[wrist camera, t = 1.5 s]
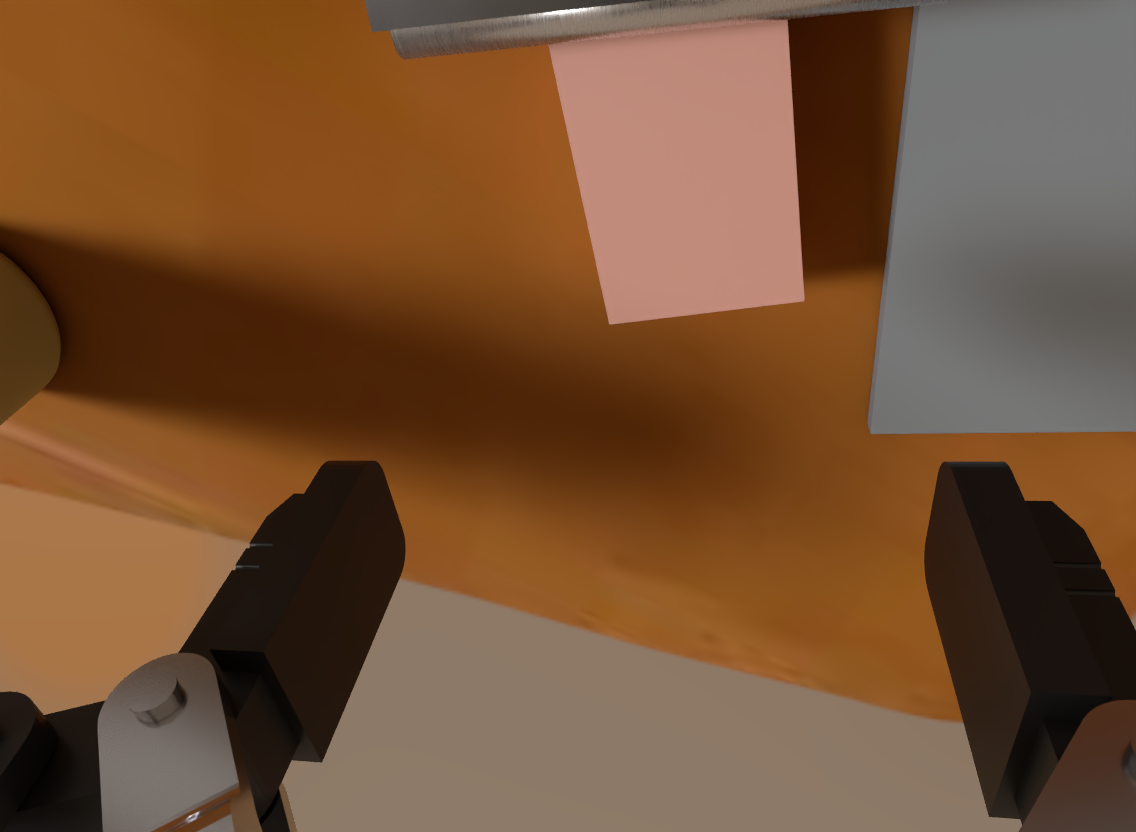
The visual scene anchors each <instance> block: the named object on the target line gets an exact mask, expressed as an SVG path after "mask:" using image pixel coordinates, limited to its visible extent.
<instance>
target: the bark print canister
mask: <svg viewBox="0 0 1136 832" xmlns="http://www.w3.org/2000/svg"><path fill="white" fill-rule="evenodd" d="M60 352H61V339H60V333H59V328H58V325H57V322H56V319H55V317H54V314H53V312H52V310H51V308H50V306H49V304H48V303H47V301H46V299H45V298H44V296H43V295H42V293H41V292H40V291H39V289H38V288H37V287H36V285H35V284H34V283H33V282H32V281H31V279H30V278H29V277H28V276H27V275H26V274H25V273H24V272H23V271H22V270H21V269H20V268H19V267H18V266H17V265H16V264H15V263H14V262H12V261H11V260H10V259H9V258H8V257H6V256H5V255H4V254H3V253H1V252H0V425H1V424H2V423H4V422H5V421H6V420H7V419H8V418H9V417H11V416H12V415H13V414H14V413H15V412H16V411H18V410H19V409H20V408H21V407H22V406H23V405H24V404H26V403H27V402H28V401H29V400H30V399H31V398H33V397H34V396H35V395H36V394H37V393H38V392H40V391H41V390H42V389H43V388H44V387H45V386H46V385H47V384H48V383H49V382H50V381H51V379H52V378H53V377H54V375H55V373H56V371H57V369H58V366H59V361H60Z"/></svg>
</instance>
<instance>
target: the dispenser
mask: <svg viewBox="0 0 1136 832" xmlns="http://www.w3.org/2000/svg"><path fill="white" fill-rule="evenodd" d="M948 1H949V0H365V4H366V8H367V12H368V16H369V20H370V24H371V28H372V32H377V31H386V30H390V32H391V36H392V40H393V43H394V46H395V48H396V50H397V52H398V54H399V55H400V57H401V58H403V59H405V60H406V59H416V58H425V57H435V56H444V55H454V54H463V53H473V52H482V51H492V50H501V49H511V48H520V47H530V46H539V45H549V44H558V43H568V42H577V41H587V40H597V39H606V38H616V37H625V36H635V35H644V34H654V33H663V32H673V31H682V30H692V29H701V28H711V27H720V26H730V25H739V24H749V23H758V22H768V21H777V20H787V19H796V18H806V17H815V16H825V15H834V14H844V13H854V12H863V11H873V10H882V9H892V8H901V7H911V6H920V5H930V4H939V3H947V2H948Z"/></svg>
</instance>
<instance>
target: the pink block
mask: <svg viewBox="0 0 1136 832" xmlns="http://www.w3.org/2000/svg"><path fill="white" fill-rule="evenodd" d="M549 49H550V54H551V59H552V63H553V68H554V72H555V77H556V82H557V86H558V91H559V95H560V100H561V105H562V109H563V114H564V118H565V123H566V128H567V132H568V137H569V141H570V146H571V150H572V155H573V160H574V164H575V169H576V173H577V178H578V183H579V187H580V192H581V196H582V201H583V206H584V210H585V215H586V219H587V224H588V228H589V233H590V238H591V242H592V247H593V251H594V256H595V261H596V265H597V270H598V274H599V279H600V284H601V288H602V293H603V297H604V302H605V307H606V311H607V316H608V320H609V325H610V324H619V323H627V322H635V321H643V320H652V319H660V318H668V317H677V316H685V315H693V314H702V313H710V312H718V311H726V310H735V309H743V308H751V307H760V306H768V305H776V304H784V303H793V302H801V301H804V285H803V269H802V252H801V235H800V219H799V202H798V185H797V168H796V152H795V135H794V118H793V102H792V85H791V68H790V52H789V35H788V19H787V20H777V21H768V22H758V23H749V24H739V25H730V26H720V27H711V28H701V29H692V30H682V31H673V32H663V33H654V34H644V35H635V36H625V37H616V38H606V39H597V40H587V41H577V42H568V43H558V44H549Z"/></svg>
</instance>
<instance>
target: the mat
mask: <svg viewBox="0 0 1136 832" xmlns="http://www.w3.org/2000/svg"><path fill="white" fill-rule="evenodd" d="M867 423H868V427H869V431H870V434H916V433H1020V432H1123V431H1136V0H949V1H948V2H947V3H939V4H930V5H920V6H914V11H913V20H912V29H911V38H910V47H909V56H908V65H907V74H906V83H905V91H904V100H903V109H902V118H901V127H900V136H899V145H898V154H897V163H896V172H895V181H894V190H893V198H892V207H891V216H890V225H889V234H888V243H887V252H886V261H885V270H884V279H883V288H882V297H881V305H880V314H879V323H878V332H877V341H876V350H875V359H874V368H873V377H872V386H871V395H870V404H869V412H868V421H867Z"/></svg>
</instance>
